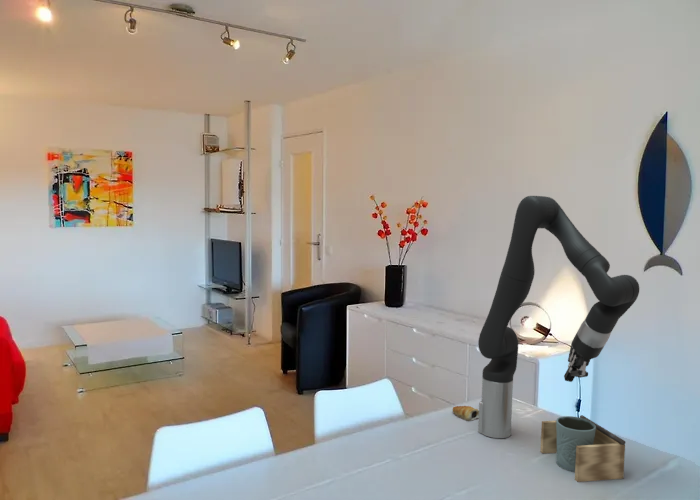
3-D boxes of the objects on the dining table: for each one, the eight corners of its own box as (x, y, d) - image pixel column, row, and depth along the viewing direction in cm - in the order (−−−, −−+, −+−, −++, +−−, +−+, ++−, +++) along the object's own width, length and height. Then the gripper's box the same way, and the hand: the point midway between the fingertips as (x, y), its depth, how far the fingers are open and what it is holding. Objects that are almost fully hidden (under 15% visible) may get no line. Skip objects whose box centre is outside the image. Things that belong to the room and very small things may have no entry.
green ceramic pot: (566, 454, 162) (568, 413, 161) (601, 467, 154) (603, 424, 153) (546, 463, 155) (548, 421, 154) (581, 477, 147) (583, 433, 146)
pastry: (447, 414, 193) (447, 403, 192) (460, 410, 197) (461, 399, 196) (468, 422, 185) (469, 411, 185) (482, 418, 189) (482, 407, 189)
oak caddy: (577, 481, 145) (579, 443, 144) (540, 451, 163) (541, 417, 162) (623, 478, 147) (625, 440, 147) (581, 449, 165) (583, 415, 165)
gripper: (574, 317, 157) (551, 359, 167) (581, 350, 147) (557, 394, 157) (601, 323, 157) (577, 365, 167) (610, 357, 146) (584, 400, 156)
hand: (567, 379), depth 162 cm, fingers closed
